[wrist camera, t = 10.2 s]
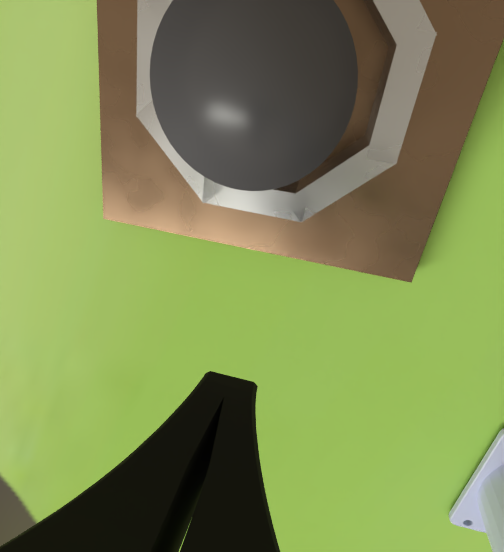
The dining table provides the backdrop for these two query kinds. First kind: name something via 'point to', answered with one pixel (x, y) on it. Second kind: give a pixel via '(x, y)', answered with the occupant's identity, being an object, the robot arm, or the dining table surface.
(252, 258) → the dining table surface
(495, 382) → the dining table surface
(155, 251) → the dining table surface
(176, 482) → the robot arm
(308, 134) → the dark grey cylinder peg
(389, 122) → the octagonal socket plate
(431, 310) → the dining table surface
